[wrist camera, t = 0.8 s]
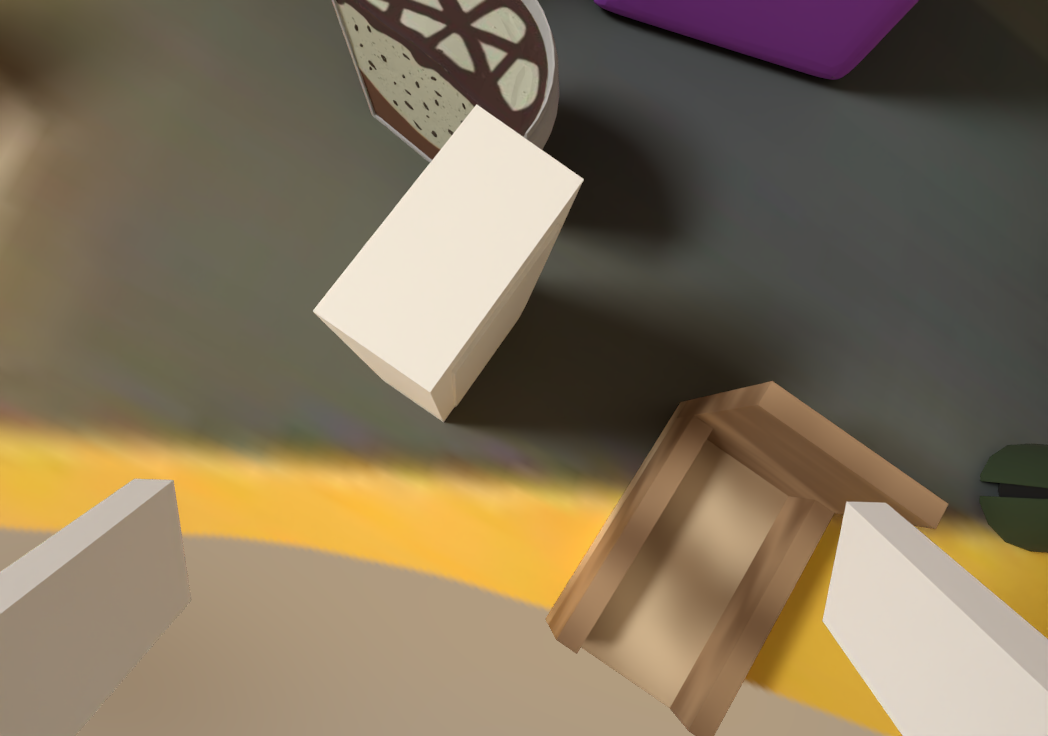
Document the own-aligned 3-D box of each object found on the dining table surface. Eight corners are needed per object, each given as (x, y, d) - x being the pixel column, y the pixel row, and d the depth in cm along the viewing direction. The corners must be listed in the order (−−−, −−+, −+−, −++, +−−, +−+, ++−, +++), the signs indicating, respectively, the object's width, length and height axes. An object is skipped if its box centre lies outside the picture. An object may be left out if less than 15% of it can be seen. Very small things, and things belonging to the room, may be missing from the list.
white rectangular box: (465, 266, 33) (472, 101, 18) (526, 309, 34) (587, 182, 18) (381, 379, 32) (308, 308, 16) (445, 423, 32) (434, 395, 16)
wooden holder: (680, 402, 34) (772, 381, 24) (805, 489, 34) (948, 503, 24) (545, 619, 31) (585, 695, 21) (681, 712, 31) (784, 832, 21)
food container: (577, 159, 35) (624, 45, 25) (513, 231, 34) (536, 141, 24) (420, 31, 35) (406, -133, 25) (352, 98, 34) (309, -45, 24)
